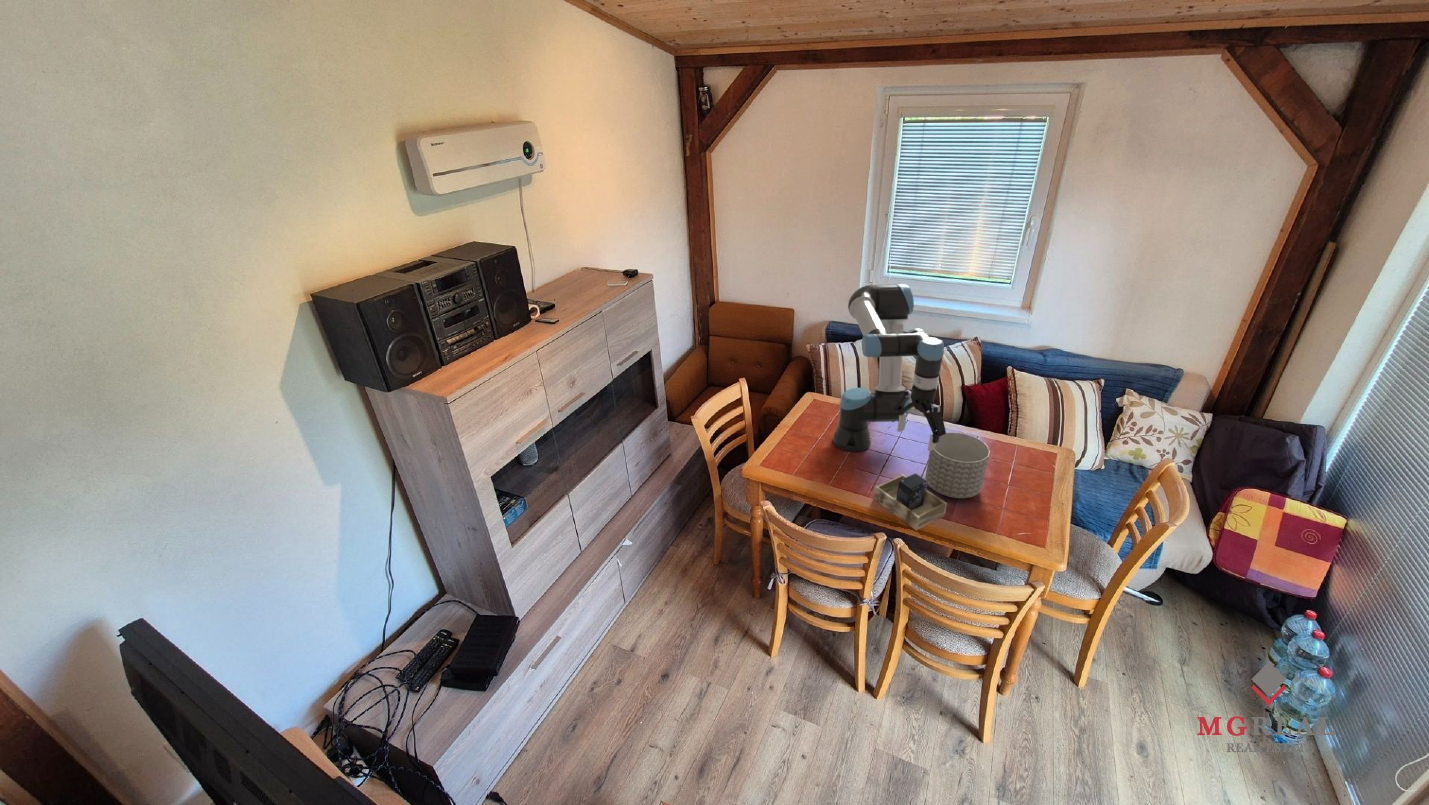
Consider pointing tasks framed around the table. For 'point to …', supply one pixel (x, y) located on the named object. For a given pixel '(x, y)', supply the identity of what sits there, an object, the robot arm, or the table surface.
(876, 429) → the table surface
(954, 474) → the planter
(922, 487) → the box
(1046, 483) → the table surface
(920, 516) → the crate
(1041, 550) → the table surface
